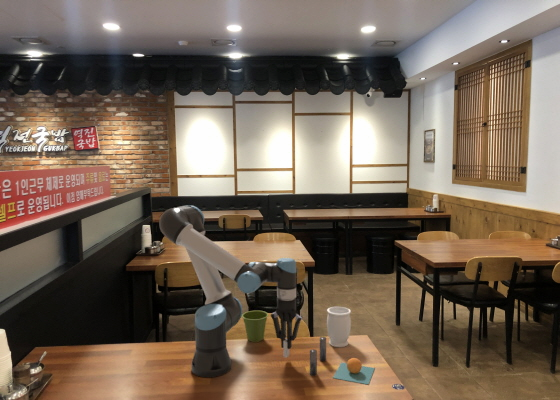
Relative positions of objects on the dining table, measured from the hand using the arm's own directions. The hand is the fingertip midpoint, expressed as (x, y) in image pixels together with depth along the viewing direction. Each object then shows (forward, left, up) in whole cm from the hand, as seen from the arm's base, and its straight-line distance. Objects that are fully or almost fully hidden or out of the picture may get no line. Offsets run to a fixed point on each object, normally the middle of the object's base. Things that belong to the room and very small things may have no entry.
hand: (286, 355), depth 169 cm
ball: (+27, 0, 0) cm, 27 cm away
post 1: (+13, -6, -2) cm, 15 cm away
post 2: (+13, +6, -2) cm, 15 cm away
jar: (+15, +24, -2) cm, 29 cm away
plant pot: (-21, +15, -2) cm, 26 cm away
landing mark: (+27, 0, -2) cm, 27 cm away
